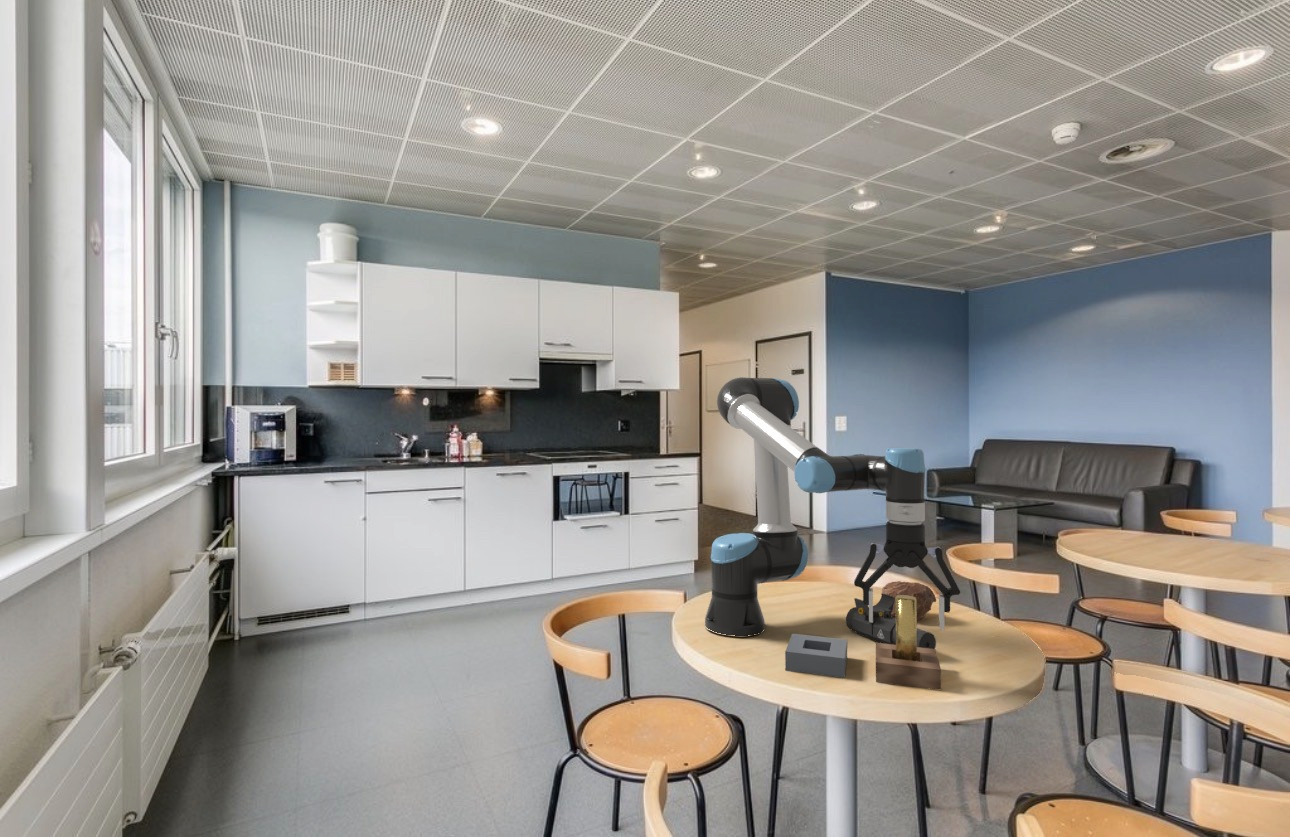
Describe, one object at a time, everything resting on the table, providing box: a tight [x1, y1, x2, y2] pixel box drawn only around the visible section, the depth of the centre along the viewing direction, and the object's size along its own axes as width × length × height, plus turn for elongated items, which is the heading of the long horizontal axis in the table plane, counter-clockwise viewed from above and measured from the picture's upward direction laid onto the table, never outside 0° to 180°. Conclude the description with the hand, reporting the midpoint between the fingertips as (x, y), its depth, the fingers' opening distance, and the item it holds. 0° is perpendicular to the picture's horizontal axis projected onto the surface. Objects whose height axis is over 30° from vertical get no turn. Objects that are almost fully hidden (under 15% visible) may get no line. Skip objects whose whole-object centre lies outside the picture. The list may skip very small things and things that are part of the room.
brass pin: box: [895, 595, 918, 661], centre depth 131 cm, size 4×4×16 cm
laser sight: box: [845, 592, 937, 649], centre depth 150 cm, size 10×22×10 cm, turn 27°
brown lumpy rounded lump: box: [881, 580, 937, 621], centre depth 170 cm, size 13×11×10 cm
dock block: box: [875, 642, 942, 690], centre depth 131 cm, size 12×12×4 cm
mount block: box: [784, 633, 848, 679], centre depth 137 cm, size 12×12×4 cm
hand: (905, 624), depth 131 cm, fingers open, 13 cm apart
